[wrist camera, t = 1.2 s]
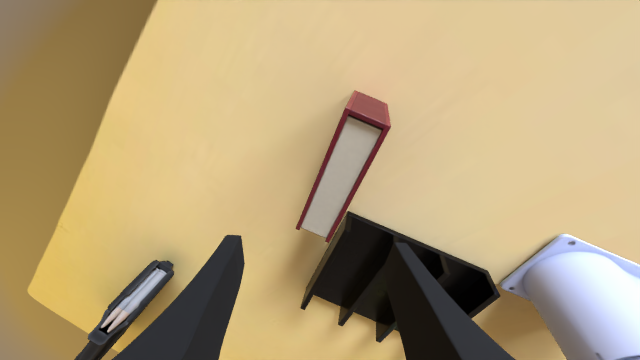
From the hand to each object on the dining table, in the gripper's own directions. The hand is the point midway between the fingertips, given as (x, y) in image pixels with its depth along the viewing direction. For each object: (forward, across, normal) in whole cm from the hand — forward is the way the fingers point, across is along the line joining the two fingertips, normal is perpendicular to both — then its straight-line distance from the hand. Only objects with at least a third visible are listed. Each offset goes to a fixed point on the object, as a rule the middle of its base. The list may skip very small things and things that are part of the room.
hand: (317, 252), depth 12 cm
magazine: (+16, +26, +33) cm, 45 cm away
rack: (+9, -10, +16) cm, 20 cm away
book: (+12, -3, 0) cm, 12 cm away
